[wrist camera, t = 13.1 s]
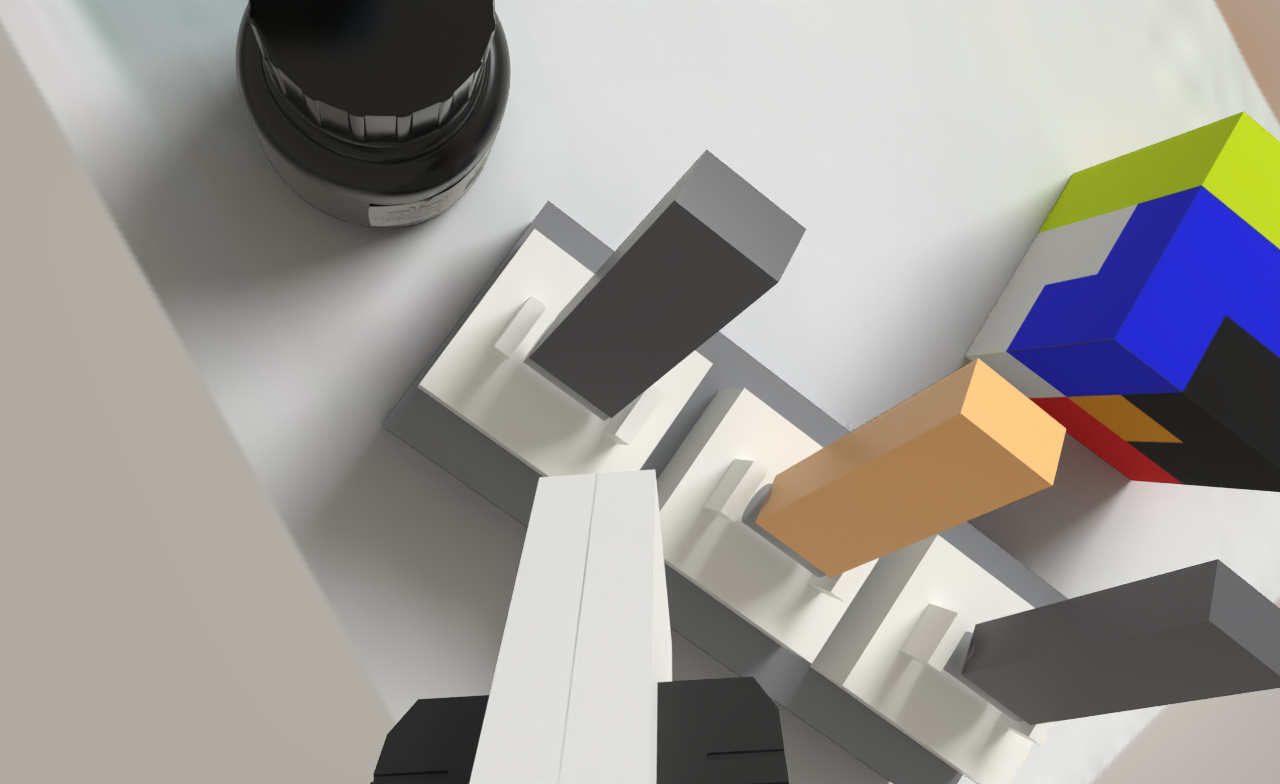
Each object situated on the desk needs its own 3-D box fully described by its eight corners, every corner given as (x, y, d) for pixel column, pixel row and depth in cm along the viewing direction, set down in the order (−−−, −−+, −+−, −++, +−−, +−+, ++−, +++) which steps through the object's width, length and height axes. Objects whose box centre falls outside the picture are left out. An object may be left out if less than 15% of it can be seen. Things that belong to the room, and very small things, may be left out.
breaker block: (535, 218, 43) (637, 76, 25) (1013, 581, 47) (1383, 677, 30) (381, 424, 41) (376, 427, 24) (891, 781, 46) (1205, 1006, 28)
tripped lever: (754, 488, 37) (978, 358, 28) (825, 540, 37) (1066, 429, 29) (733, 533, 36) (960, 413, 27) (807, 587, 36) (1052, 485, 28)
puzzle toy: (963, 356, 47) (1113, 339, 37) (1072, 173, 48) (1243, 111, 39) (1130, 480, 49) (1315, 494, 39) (1230, 300, 50) (1432, 271, 40)
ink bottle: (429, 279, 42) (444, 224, 30) (211, 174, 40) (138, 71, 28) (534, 63, 43) (589, -71, 31) (327, -49, 41) (303, -235, 29)
